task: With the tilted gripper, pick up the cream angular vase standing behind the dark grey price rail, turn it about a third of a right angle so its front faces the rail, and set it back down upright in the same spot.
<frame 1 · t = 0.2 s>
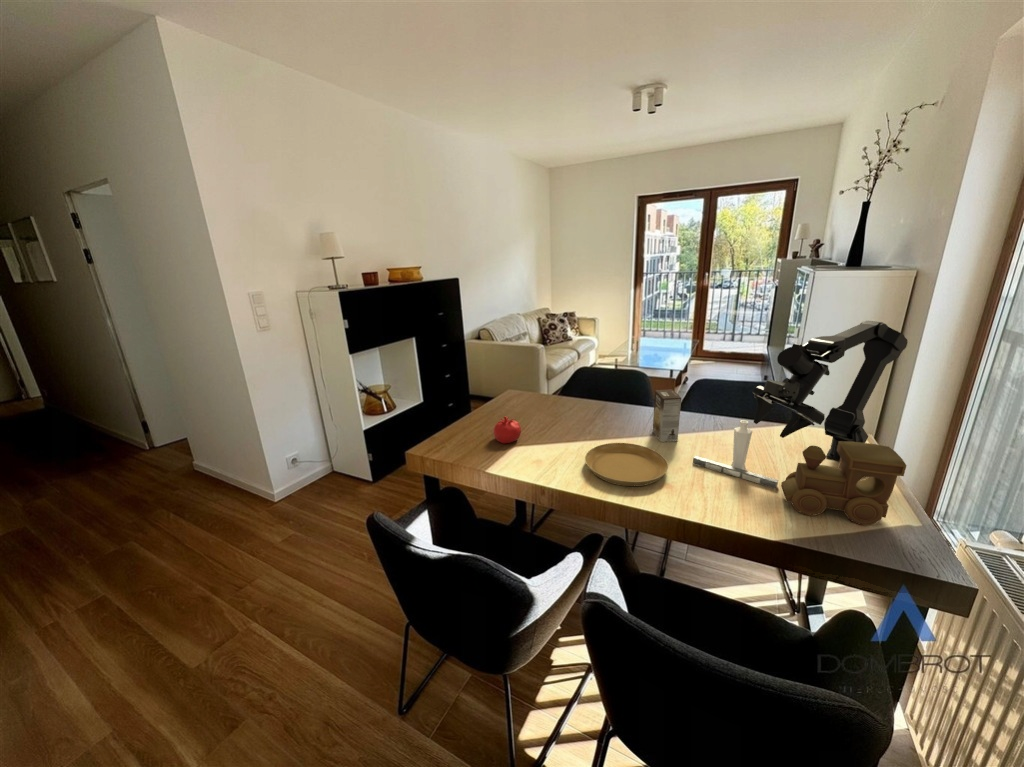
hand: (767, 429, 111), 14 cm above the table, tool tilted 35°, fingers open, 9 cm apart
cream angular vase: (737, 468, 120), on the table
pomegranate: (507, 440, 147), on the table
coffee box: (664, 436, 143), on the table
wooden toy train: (830, 509, 99), on the table
plant saucer: (625, 470, 123), on the table
price rail: (732, 474, 117), on the table
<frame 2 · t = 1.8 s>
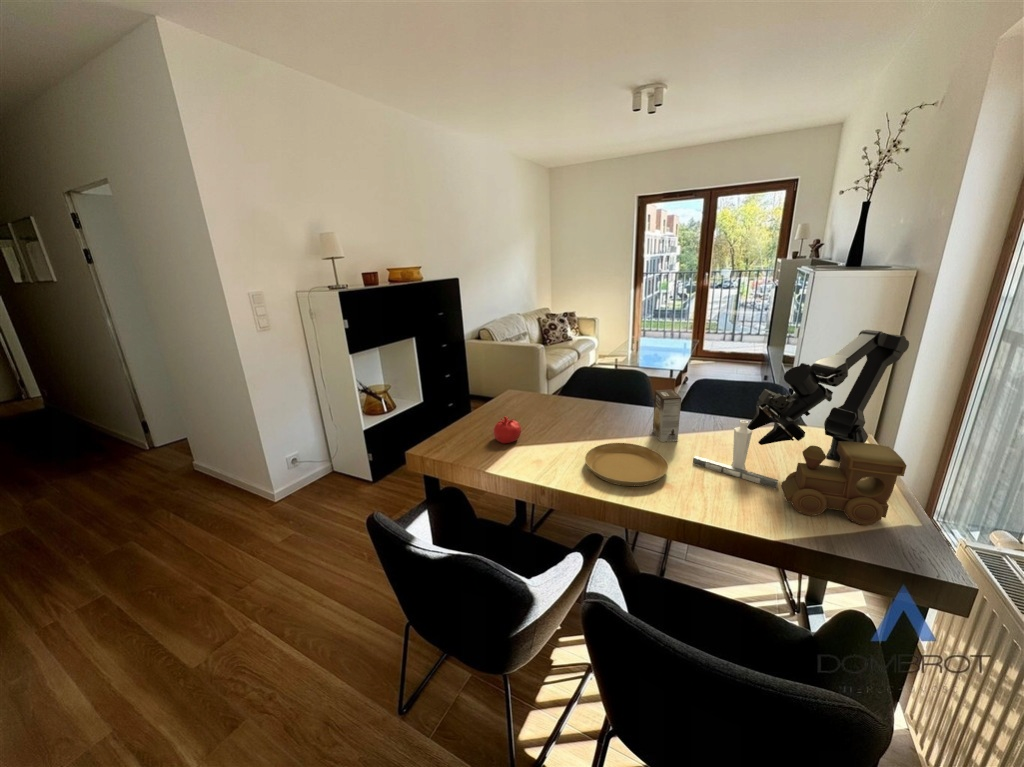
hand: (753, 436, 116), 10 cm above the table, tool tilted 45°, fingers open, 9 cm apart
nothing on the table moved.
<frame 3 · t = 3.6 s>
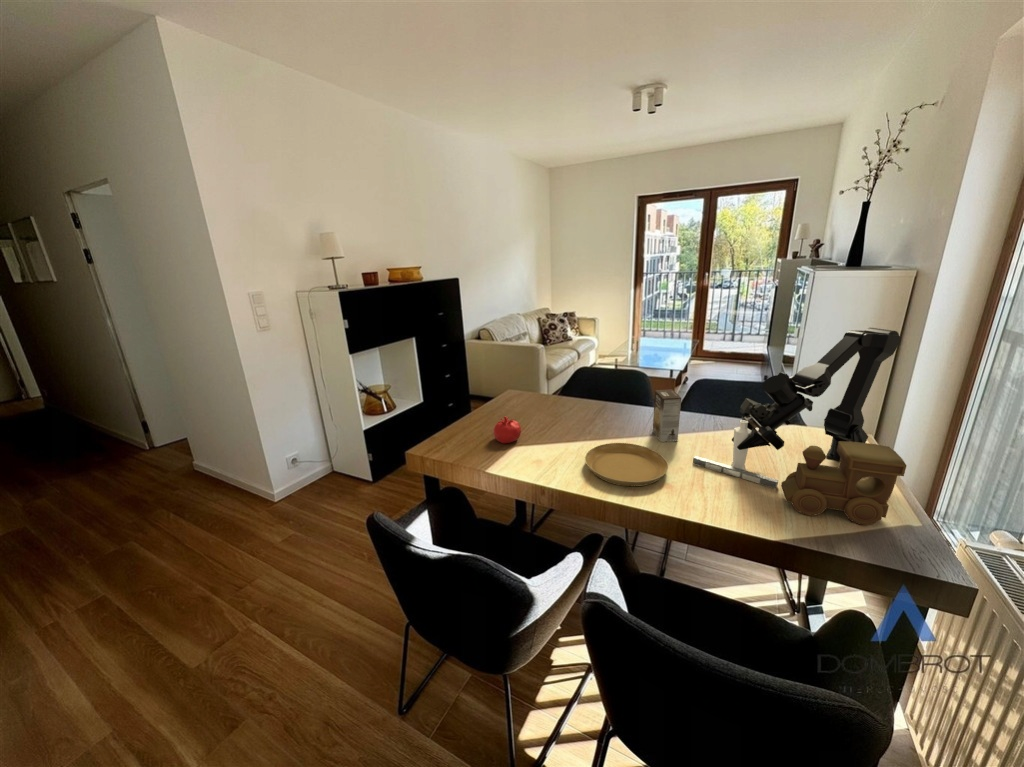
hand: (735, 444, 118), 8 cm above the table, tool tilted 45°, fingers closed on cream angular vase, 4 cm apart
cream angular vase: (737, 468, 120), on the table, touching gripper
everything else where it was.
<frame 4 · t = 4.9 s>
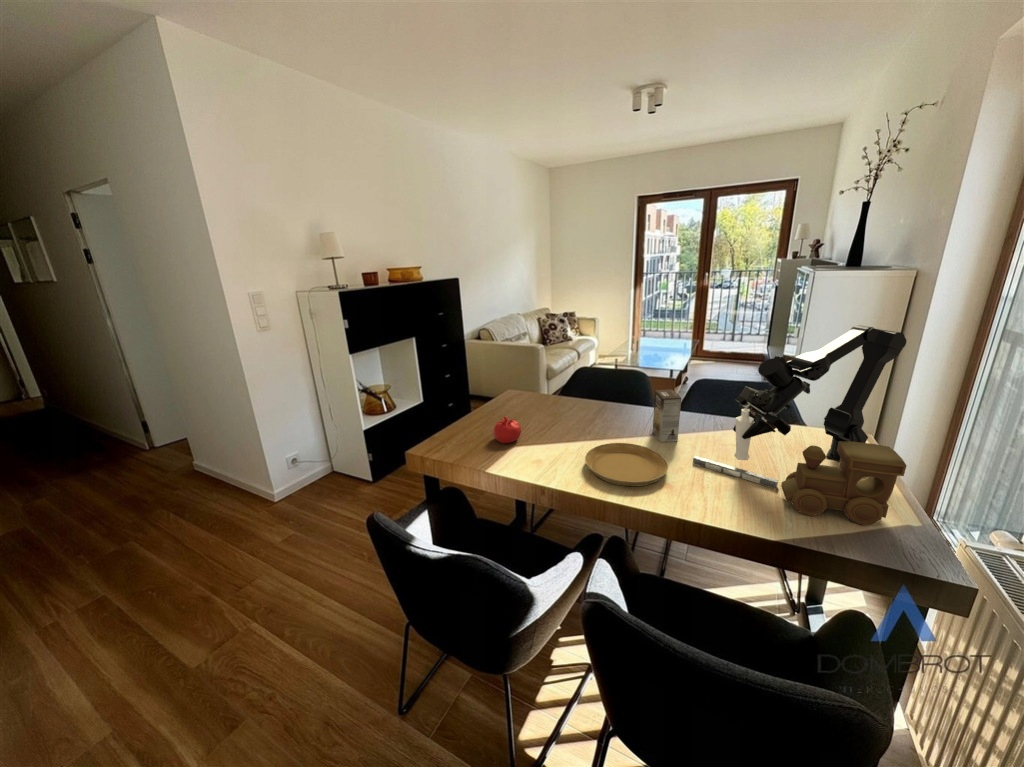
hand: (738, 434, 116), 11 cm above the table, tool tilted 40°, fingers closed on cream angular vase, 4 cm apart
cream angular vase: (741, 458, 118), point 3 cm above the table, touching gripper
everything else where it was.
when the fingers open (8 cm above the table, at t = 6.7 s): cream angular vase stays where it is, on the table.
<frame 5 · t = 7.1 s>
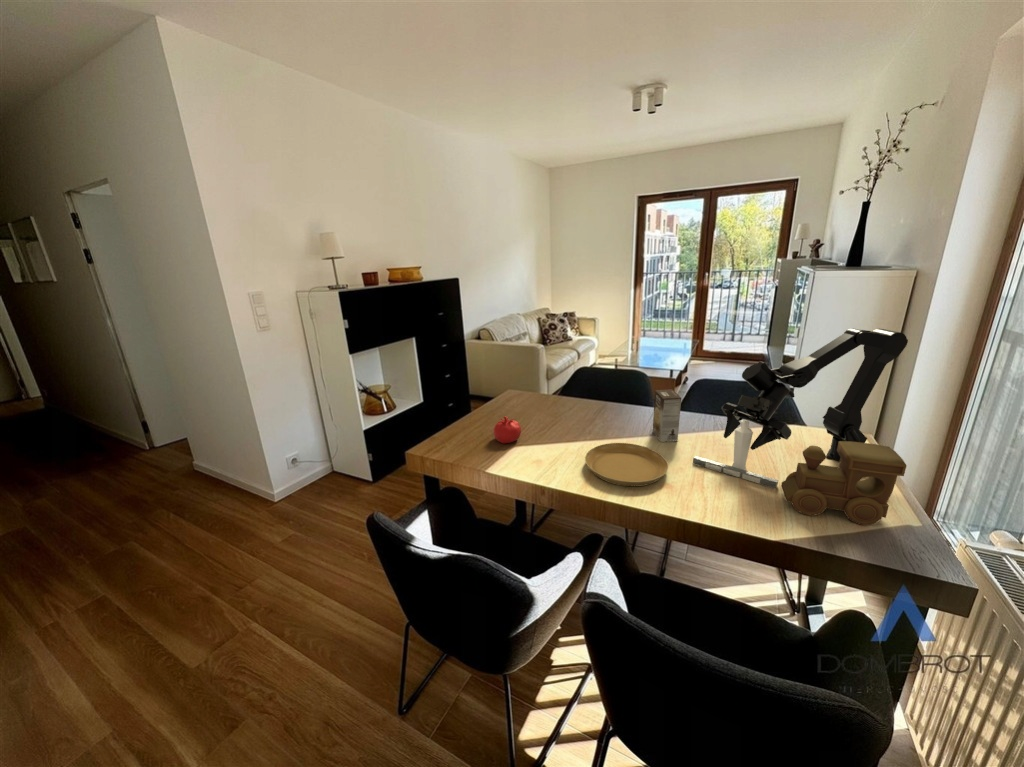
hand: (737, 443, 116), 9 cm above the table, tool tilted 45°, fingers open, 8 cm apart
cream angular vase: (738, 468, 120), on the table
everything else where it was.
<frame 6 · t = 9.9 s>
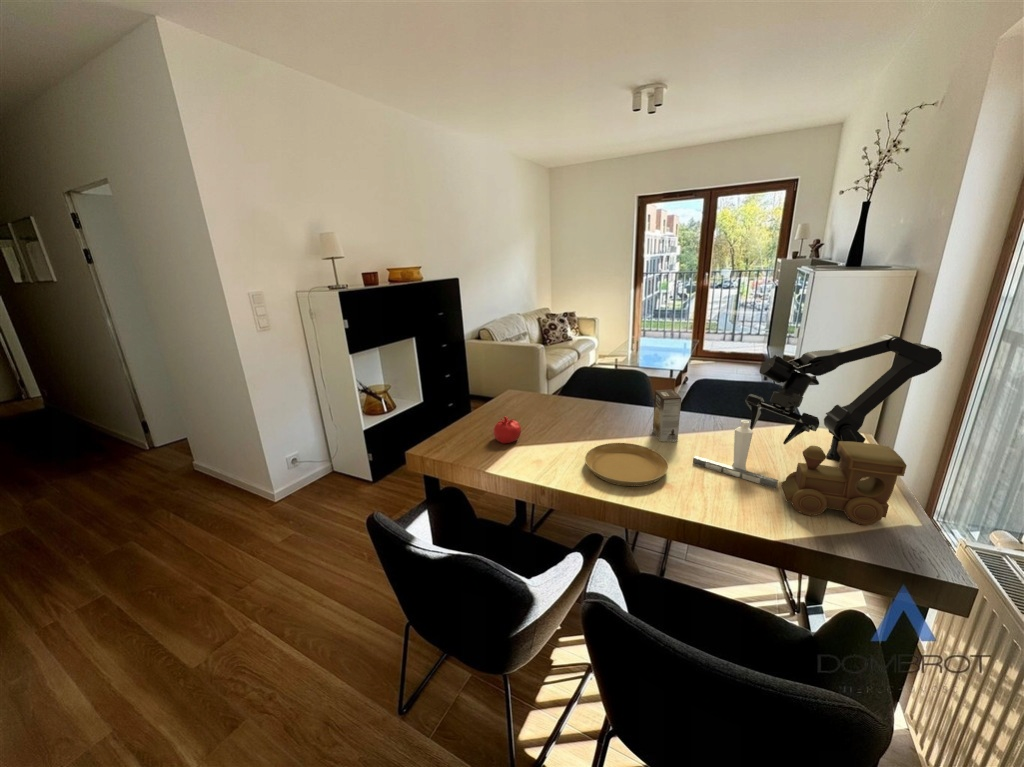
hand: (766, 436, 119), 9 cm above the table, tool tilted 35°, fingers open, 9 cm apart
nothing on the table moved.
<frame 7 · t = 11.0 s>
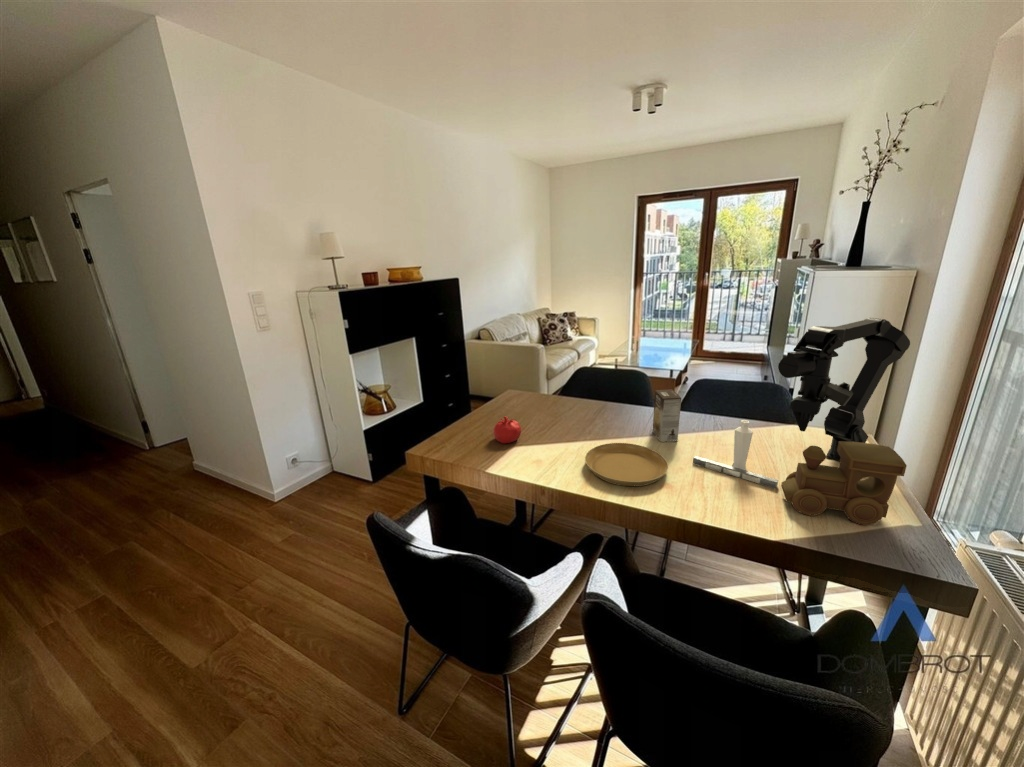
hand: (806, 425, 115), 13 cm above the table, tool pointing down, fingers open, 9 cm apart
nothing on the table moved.
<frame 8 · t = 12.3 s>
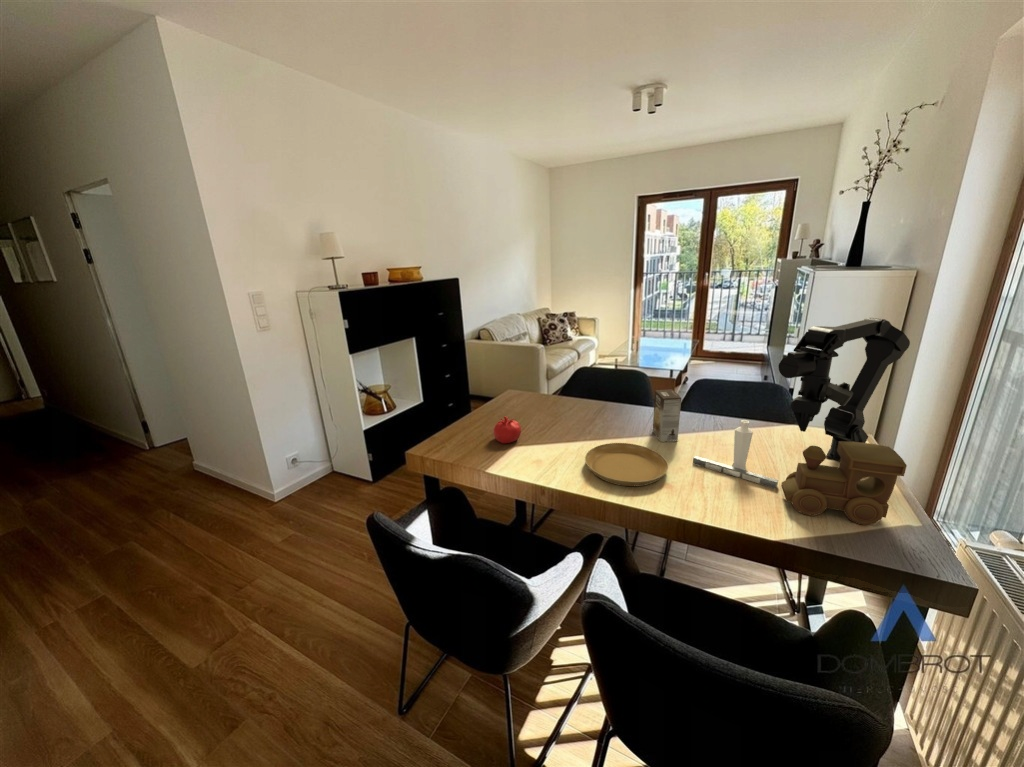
hand: (806, 426, 115), 13 cm above the table, tool pointing down, fingers open, 9 cm apart
nothing on the table moved.
at the end: cream angular vase inside the target area (0.4 cm from its centre), on the table; cream angular vase tilted 0°; the gripper is holding nothing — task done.
